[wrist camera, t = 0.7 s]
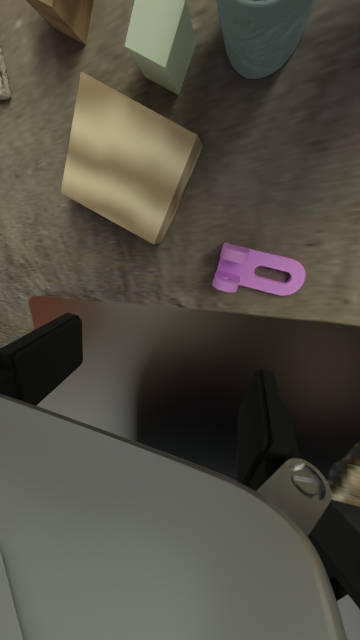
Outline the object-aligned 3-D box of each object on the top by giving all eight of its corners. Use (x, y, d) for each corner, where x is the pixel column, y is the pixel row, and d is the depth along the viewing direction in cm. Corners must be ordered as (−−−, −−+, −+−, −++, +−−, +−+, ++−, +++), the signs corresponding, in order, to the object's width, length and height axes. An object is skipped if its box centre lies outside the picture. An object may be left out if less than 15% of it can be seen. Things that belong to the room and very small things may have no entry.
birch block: (103, 92, 31) (81, 71, 27) (203, 147, 31) (197, 135, 26) (81, 195, 38) (60, 192, 33) (164, 241, 37) (153, 244, 33)
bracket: (215, 276, 37) (210, 287, 31) (224, 242, 35) (221, 247, 29) (293, 296, 36) (305, 313, 30) (309, 262, 33) (325, 272, 27)
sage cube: (160, 24, 27) (140, -24, 21) (196, 43, 27) (185, 0, 21) (145, 77, 29) (124, 45, 24) (178, 95, 29) (165, 67, 24)
